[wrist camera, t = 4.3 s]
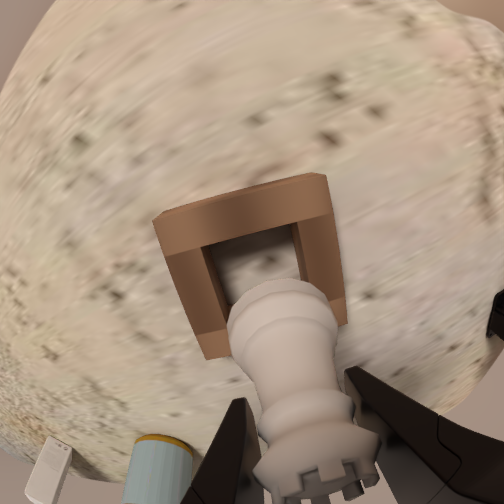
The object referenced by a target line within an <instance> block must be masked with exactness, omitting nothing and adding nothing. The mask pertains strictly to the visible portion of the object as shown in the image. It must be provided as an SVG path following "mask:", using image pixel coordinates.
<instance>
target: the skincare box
mask: <svg viewBox="0 0 504 504" xmlns="http://www.w3.org/2000/svg"><path fill="white" fill-rule="evenodd" d="M71 461H72V447H70V446H68V445H66V444H64V443H62V442H61V441H59V440H57V439H55V438H53V437H52V436H50V435H49V436H48V438H47V440H46V442H45V444H44V446H43V448H42V451H41V453H40V455H39V457H38V459H37V462H36V464H35V466H34V469H33V471H32V473H31V476H30V478H29V481H28V483H27V486H26V488H25V491H24V493H25V494H26V496H27V497H28V498H29V500H30V501H32V502H33V503H35V504H57V501H58V498H59V495H60V492H61V489H62V486H63V483H64V480H65V478H66V475H67V472H68V469H69V467H70V464H71Z"/></svg>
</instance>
